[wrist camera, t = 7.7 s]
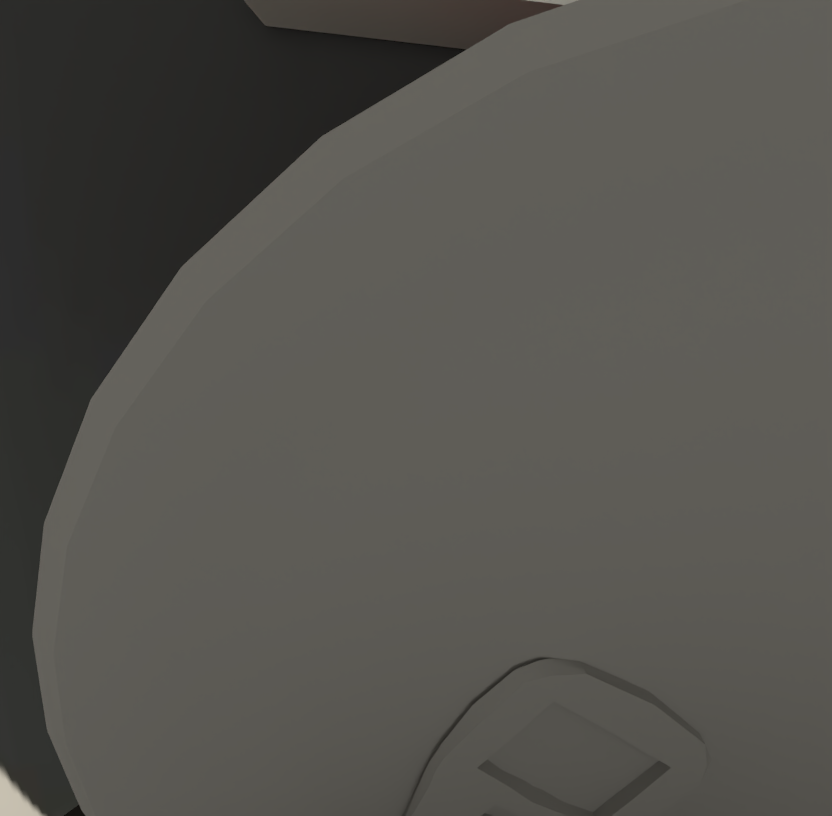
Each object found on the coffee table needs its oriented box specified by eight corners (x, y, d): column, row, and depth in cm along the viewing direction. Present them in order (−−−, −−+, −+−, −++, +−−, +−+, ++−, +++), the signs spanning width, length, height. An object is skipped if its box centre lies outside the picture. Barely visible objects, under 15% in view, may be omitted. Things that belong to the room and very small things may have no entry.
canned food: (297, 418, 14) (-29, 965, 4) (391, 109, 11) (139, -771, 1) (546, 502, 15) (813, 1124, 5) (689, 235, 12) (2024, 361, 2)
